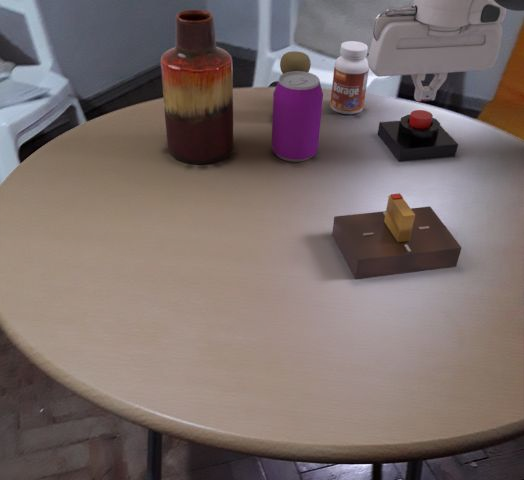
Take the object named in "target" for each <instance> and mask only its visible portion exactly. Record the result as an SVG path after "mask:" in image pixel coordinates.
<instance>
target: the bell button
mask: <svg viewBox="0 0 524 480" xmlns="http://www.w3.org/2000/svg"><path fill="white" fill-rule="evenodd" d="M409 115H410V119H409V125H411V126H413V127H416V128H429V127H430V126H431V122H432V118H434V115H433V113H432V112H430V111H428V110H424V109H423V110H422V109H415V110H412V111H411V112H410V114H409Z"/></svg>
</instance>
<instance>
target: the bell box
mask: <svg viewBox="0 0 524 480" xmlns="http://www.w3.org/2000/svg"><path fill="white" fill-rule="evenodd" d="M409 119H410V114H406V115H403V116H401V117H400V120H389V121H388V120H387V121H379V123H378V128H377V129H378V130H377V136H378V137H379V138H380V139H381V141H382V142H383V143H384V145H385V146H386V147H387V149H388V150H389V151H390V152H391V154H392V155H393V156H394V158H395V159H396V160H397V162H399V163H402V162H411V161H412V162H413V161H420V160H421V161H423V160H424V161H425V160H434V159H446V158H454V157H456V155H457V151H458V147H459V143H458V142H457V141H456V140H455V139H454V138H453V137H452V136H451V135H450V134H449V133H448V131H447V130H446V129H445V128H444V127H443V126H442V125H441V123H440V121H439V120H438V119H437V118H435V117H433V118H432V122H431V126H430V127H429V128H416V127H413V126H411V125H409Z"/></svg>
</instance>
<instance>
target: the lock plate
mask: <svg viewBox="0 0 524 480" xmlns="http://www.w3.org/2000/svg"><path fill="white" fill-rule="evenodd" d="M410 208H411V207H410ZM411 210H412V211H413V213H414V214H415V218H414V222H413V226H412V231H411V235H410V240H409V241H406V242H397V240H396V239H395V237H394V236H393V234H392V233H391V231H390V230H389V228H388V227H387V225H386V224H385V222H384V219H385V214H386V210H383V211H373V212H364V213H354V214H345V215H337V216H336V215H335V216H334V217H333V224H332V233H331V236H332V238H333V240H334V242H335V243H336V245H337V248H338V249H339V251H340V253H341V255H342V257H343V259H344V260H345V262H346V264H347V266H348V268H349V270H350V272H351V274H352V276H353V278H354V279H355V280H358V279H366V278H373V277H382V276H391V275H399V274H406V273H413V272H423V271H430V270H438V269H444V268H445V269H447V268H454V267H457V265H458V261H459V259H460V255H461V251H462V246H461V245H460V243H459V242H458V240H457V239H456V238H455V237H454V236H453V234H452V233H451V232H450V230H449V229H448V227H447V226H446V225H445V224H444V223H443V221H442V220H441V219H440V217H439V215H438V214H437V213H436V212H435V210H433V208H432V207H431V206H420V207H412V208H411Z"/></svg>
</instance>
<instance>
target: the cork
mask: <svg viewBox="0 0 524 480" xmlns="http://www.w3.org/2000/svg"><path fill="white" fill-rule="evenodd" d="M311 62H312V61H311V59H310V56H309V55H308V54H306V52H302V51H297V50H295V51H288V52H285V53H284V54H283V55H282V56H281V58H280V61H279V68H280V71H281V73H282V74H284V73H287V72H292V71H301V72H308V73H310V70H311V65H312V63H311Z"/></svg>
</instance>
